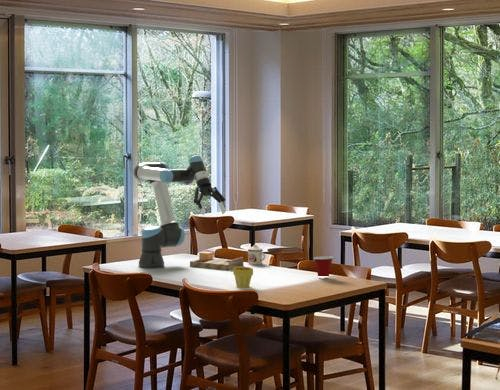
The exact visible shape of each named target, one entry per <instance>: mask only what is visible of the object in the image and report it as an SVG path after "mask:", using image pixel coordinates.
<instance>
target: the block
mask: <svg viewBox="0 0 500 390" xmlns="http://www.w3.org/2000/svg"><path fill="white" fill-rule="evenodd" d="M198 255H199V256H198V259H202V260H210V259H214V252H213V251H201V252H199V254H198Z"/></svg>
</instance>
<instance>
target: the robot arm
mask: <svg viewBox="0 0 500 390" xmlns="http://www.w3.org/2000/svg"><path fill="white" fill-rule="evenodd" d="M188 163H189V165H188V167H187V168H179V169H178V168H177V169H175V168H172V169H171V168H170V166H169V164H168V163H166V162H164V161H150V162H149V161H148V162H146V161H145V162H144V161H143V162H140V163H137V165H135V166H134V168H133V176H134V178H135V179H136V180H137V181H141V182H149V185H150V186H151V187H152V188H153V192H154V195H155V196H154V197H155V201H156V205H157V210H158V214H159V217H160V218H159V219H160V225H152V226H147V227H143V228H142V230H141V254H140V258H139V261H138V267H140V268H144V269H157V268H163V267H165V261H164V258H163V254H162V249H163V248H175V247H180V246H181V245H182V244H183V243H184V241H185V238H186V237H185V236H186V233H185V229H184V228H183V227H182V226H180V225H179V222H178V221H176V218H175V213H174V208H173V204H172V199H171V195H170V192H169V186H168V184H169V183H182V184H183V185H185V186H189V185H191V184H192V183H193V182H196V187H195V188H194V199H193V204H195V205H196V206H198V210H200V212H201V215H205V214H206V213H207V212H206V210H205V207H204V204H203V202H202V200H203V198H204V196H205V197H206V196H210V197H211V198H213V199H214V200H216V202H218V206H219V208H220V211H221V214H222V215H224V214H225V213H226V208H225V207H226V206H225V202H226V198H225V197H224V195H222V193H221V192H220V190H218V188H217V186H214V187H212V186H211V185H212V184H211V180H210V178H209V175H208V172H207V169H206V167H205V164H204V160H203V159H202V157H201V156H200V155H199V154H196V155H193V156H191V157H189V159H188ZM199 193H200V195H199Z"/></svg>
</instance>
